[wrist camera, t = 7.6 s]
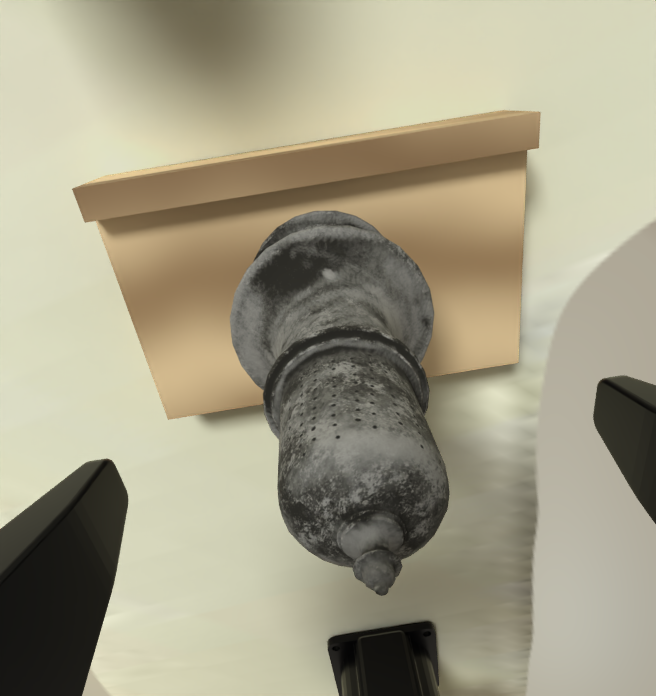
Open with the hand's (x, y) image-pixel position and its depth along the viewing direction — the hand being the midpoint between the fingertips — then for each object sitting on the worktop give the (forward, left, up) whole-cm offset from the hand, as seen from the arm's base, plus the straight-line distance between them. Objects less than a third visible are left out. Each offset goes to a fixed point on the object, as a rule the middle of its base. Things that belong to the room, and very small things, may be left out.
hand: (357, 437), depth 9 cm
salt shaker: (0, 0, -9) cm, 9 cm away
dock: (0, 0, -11) cm, 11 cm away
